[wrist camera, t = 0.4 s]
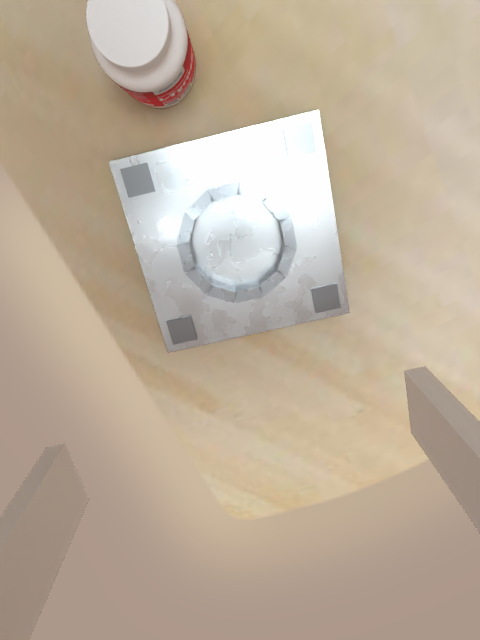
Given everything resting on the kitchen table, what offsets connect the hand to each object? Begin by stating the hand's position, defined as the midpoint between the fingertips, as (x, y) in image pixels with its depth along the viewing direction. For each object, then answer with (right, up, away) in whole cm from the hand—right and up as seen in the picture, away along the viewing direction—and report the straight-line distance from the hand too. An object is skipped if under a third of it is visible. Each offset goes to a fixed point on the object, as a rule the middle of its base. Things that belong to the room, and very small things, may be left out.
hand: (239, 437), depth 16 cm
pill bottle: (-7, +25, +18) cm, 32 cm away
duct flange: (0, +12, +23) cm, 26 cm away
